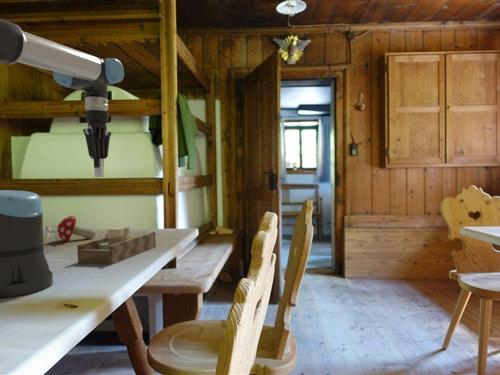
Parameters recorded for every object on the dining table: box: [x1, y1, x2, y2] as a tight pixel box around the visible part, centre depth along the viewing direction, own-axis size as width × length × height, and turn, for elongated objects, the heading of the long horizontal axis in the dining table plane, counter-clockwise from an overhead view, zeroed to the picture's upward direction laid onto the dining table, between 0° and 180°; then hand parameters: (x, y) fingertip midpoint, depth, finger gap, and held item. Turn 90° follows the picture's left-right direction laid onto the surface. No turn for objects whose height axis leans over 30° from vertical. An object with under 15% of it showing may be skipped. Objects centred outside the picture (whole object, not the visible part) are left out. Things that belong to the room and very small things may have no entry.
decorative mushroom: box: [57, 215, 96, 242], centre depth 157 cm, size 11×11×15 cm
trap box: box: [76, 231, 157, 265], centre depth 126 cm, size 27×12×6 cm, turn 166°
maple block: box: [107, 226, 131, 244], centre depth 125 cm, size 5×5×5 cm
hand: (99, 176), depth 133 cm, fingers closed
